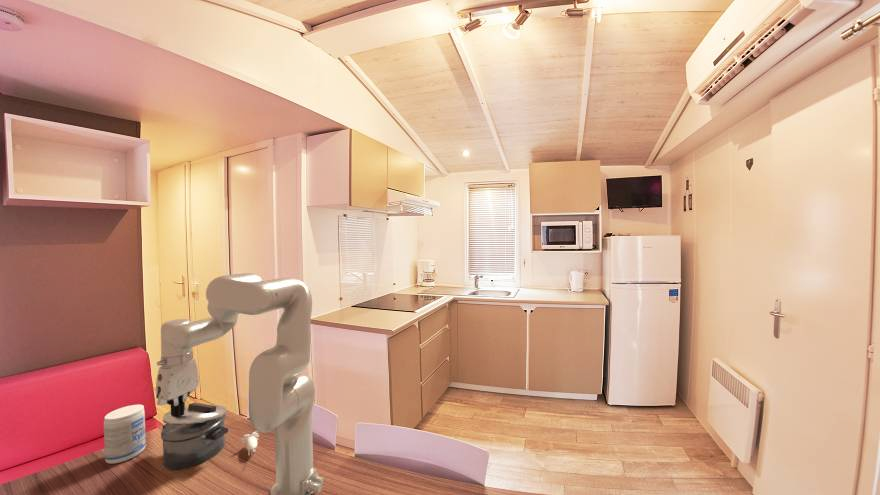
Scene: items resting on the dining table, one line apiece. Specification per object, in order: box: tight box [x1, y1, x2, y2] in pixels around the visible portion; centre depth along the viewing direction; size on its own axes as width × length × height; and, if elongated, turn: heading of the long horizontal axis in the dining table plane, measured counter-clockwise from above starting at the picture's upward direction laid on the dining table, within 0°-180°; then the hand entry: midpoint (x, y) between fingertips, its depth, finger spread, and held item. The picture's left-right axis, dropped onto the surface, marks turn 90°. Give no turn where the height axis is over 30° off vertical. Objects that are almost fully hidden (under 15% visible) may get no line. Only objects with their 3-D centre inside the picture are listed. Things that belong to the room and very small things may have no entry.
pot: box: [160, 410, 229, 471], centre depth 102 cm, size 23×18×10 cm
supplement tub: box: [103, 404, 147, 465], centre depth 101 cm, size 10×10×15 cm
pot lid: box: [162, 402, 227, 425], centre depth 102 cm, size 17×17×3 cm
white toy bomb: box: [241, 430, 260, 456], centre depth 101 cm, size 12×5×5 cm, turn 37°
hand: (177, 415), depth 97 cm, fingers closed
